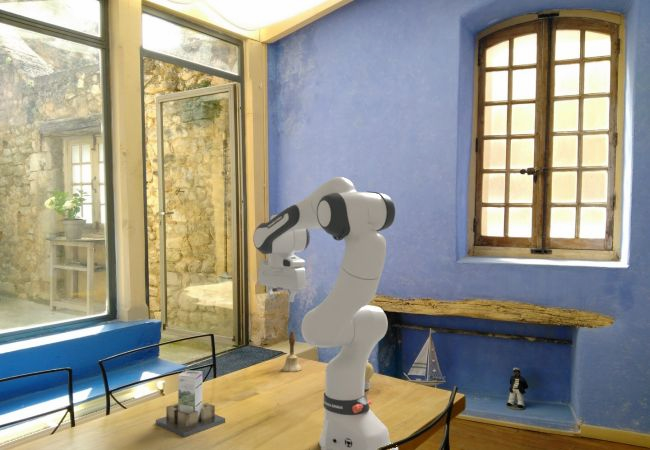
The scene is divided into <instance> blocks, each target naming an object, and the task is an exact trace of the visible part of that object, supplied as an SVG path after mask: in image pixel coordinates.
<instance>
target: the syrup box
mask: <svg viewBox="0 0 650 450" xmlns="http://www.w3.org/2000/svg"><path fill="white" fill-rule="evenodd" d="M177 379H178V380H177V381H178V382H177V383H178V385H177V386H178V387H177V390H178V391H177V397H178V398H177V399H178V400H177V401H178V402H177V403H178V412H179V411H183V412H186V413H189V412H192V411H195V410H196V411H198V420H199V419H200V418H201V408H202V401H203V371H201V370H184V371H182V372H181V373H180V374H178V376H177Z"/></svg>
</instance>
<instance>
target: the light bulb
mask: <svg viewBox="0 0 650 450" xmlns="http://www.w3.org/2000/svg"><path fill="white" fill-rule="evenodd" d="M374 373H375V372H374V367H373V364H371V362H368V361H367V364H366V370H365V386H364V391H368V390H370V389H371V382H370V381H371V380H370V379H371V378H372V377H373V375H374Z"/></svg>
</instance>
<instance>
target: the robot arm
mask: <svg viewBox="0 0 650 450" xmlns="http://www.w3.org/2000/svg"><path fill="white" fill-rule="evenodd" d="M395 217H396V207H395V203H394V201H393V200H392V198H391V196H388V195H387V194H385V193H382V192H377V191H376V192H375V191H357V189H356V187H355V185H354V184H353V182H352V181H351V180H349V179H348V178H345V177H343V176H334V177H332V178H330V179H328V180H327V181H325V182H324V183H322V184H321V185H320V186H318V187H317V188H316V189H315V190H314V191H313V192H312V193H311V194H309V195H308V196H307V197H305V198H304V199H302V200H300V201H298V202H296V203H295V204H292V205H291V206H289V207H286V208H285V209H283V210H282V211H280V213H275V214H272V215H271V216H270V217H269V219H270V220H269V221H267V222H262V223H260V224H259V225H258V226H257V227H256V228H255V230H254V233H253V237H252V238H253V239H252V240H253V245H254V247H255V248H256V249H257V251H258V252H260V253H261V254H262V255H268V257H267V258H268V259H267V258H263V259H261V261H260V264H259V265H260V266H259V269H258V278H257V281H258V282H257V283H258V284H259V285H260V286H265V289H266V292H267V294H268V299H269V300H274V299H275V297H276V296H275V295H276V294H275V293H274V292H273V291H274V290H273V288H274V287H275V288H281V289H288V290H289V296H287V302H288V303H293V302H295V296H296V295H297V292H298V291H297V290H304V289H305V287H306V284H307V279H306V278H307V277H306V276H307V273H306V269H305V266H306V261H305V260H304V258H303V259H302V258H301V257H299V256H298V255H295V253H300V252H304V251H305V250H306V249H307V248H308V246H309V244H310V242H311V241H310V240H311V236H310V230H312V229H313V230H315V229H316V230H318V229H323V230H324V232H326V233H327V234H328V235H330V236H332V238H333V240H334V241H335V240H336V241H342V240H344V243H345V248H344V253H343V255H342V260H341V264H340V266H339V271H338V274H337V278H336V280H335V282H334V285H333V287H332V289H331V291H330V292H329V293H328V295H327V296H326V297H325V298H324V300H322V302H320V304H318V305H317V306H316V307H314V308H312V309H311V310H309V311H308V312H306V313H305V315H304V316H303V318H302V322H301V326H300V327H301V329H300V330H301V335H302V337H303V339H304V341H305V342H306V343H307V345H309V346H310V347H317V348H322V349H324V348H325V349H328V348H335V347H341V348H340V351H339V352H338V354H337V355H335V357H333V358H332V359H331V360H329V362H328V363H327V364H326V367H325V371H324V372H325V376H324V377H325V378H324V379H325V380H324V381H325V387H324V389H325V392H324V393H323V408H324V414H323V415H324V417H323V424H322V425H323V426H322V430H321V435H320V438H319V443H318V444H319V447H320V450H377V449H378V448H380V447H383V446H386V445H389V444H391V443H392V442H391V440H390V433H389V430H388V428H387V426H386V425H385V424H384V423H383V422H382V421H381V420H380V419H379V418H378V417H377V415H375V413H374V412H373V411H372V410H371V408H370V407H371V406H370V405H371V404H373V402H372V401H373V399H369V400H368V398H367V394H366V393H365V390H364V386H365V370H366V364H367V362H368V361H369V358H370V356H371V353H372V352H373V350H374V348H375V347H376V345H378V343H379V341H381V340H382V339H383V338H384V337H385V335H386V334H387V331H388V325H389V324H388V323H389V322H388V318H387V314H386V313H385V312H384V310H383V309H382V308H381V307H379V306H377V305H371V304H370V303H371V302H372V301H373V300H374V298H375V296H376V293H377V290H378V287H379V283H380V280H381V276H382V273H383V270H384V266H385V261H386V254H387V241H386V237H384V235H383V234H382V233H381V232H380V231H383V230H386V229H388V228H389V227H391V226H392V224H394V221H395ZM309 229H310V230H309ZM390 450H399V446H398V447H396V448H392V449H390Z"/></svg>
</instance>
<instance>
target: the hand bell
mask: <svg viewBox="0 0 650 450" xmlns="http://www.w3.org/2000/svg"><path fill="white" fill-rule="evenodd" d="M288 343H289V354H288V355H286V358H285V363H284V365H283V367H281V370H282V371H283V372H288V373H296V372H299V371H301V370H302V369H303V368H302V366H301V365H300V364H299V361H298V356H297V355H295V350H294V349H295V343H296V335H295V332H294V330H291V331H290V332H289V336H288Z"/></svg>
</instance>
